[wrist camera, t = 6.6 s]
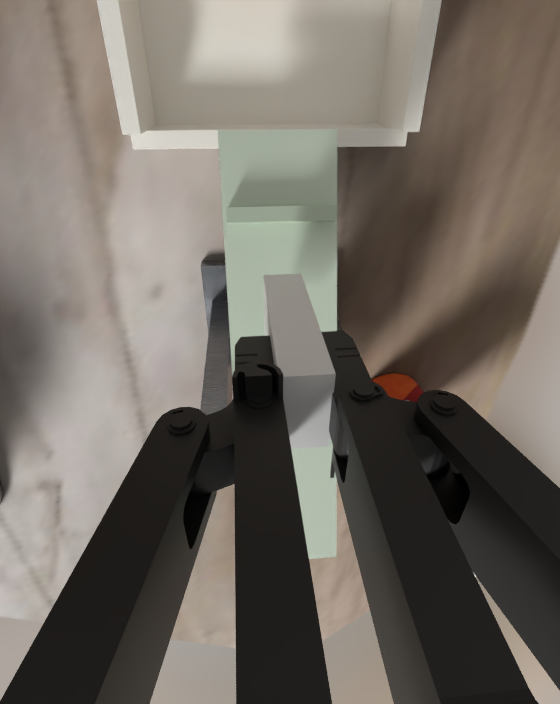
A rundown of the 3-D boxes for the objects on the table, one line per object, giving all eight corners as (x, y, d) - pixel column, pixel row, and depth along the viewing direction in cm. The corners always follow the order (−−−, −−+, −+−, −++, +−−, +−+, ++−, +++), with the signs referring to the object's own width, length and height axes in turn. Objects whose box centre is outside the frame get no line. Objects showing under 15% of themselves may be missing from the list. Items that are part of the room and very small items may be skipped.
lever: (243, 490, 28) (243, 576, 21) (225, 166, 24) (216, 124, 16) (314, 485, 29) (339, 567, 21) (311, 164, 24) (341, 123, 16)
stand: (212, 360, 31) (201, 494, 21) (201, 261, 27) (181, 373, 17) (328, 354, 32) (369, 482, 22) (336, 257, 28) (392, 361, 18)
